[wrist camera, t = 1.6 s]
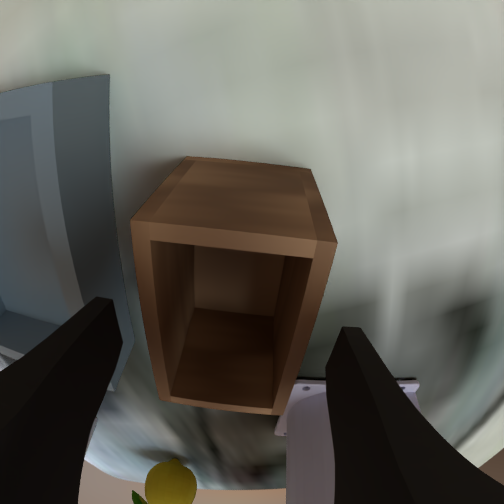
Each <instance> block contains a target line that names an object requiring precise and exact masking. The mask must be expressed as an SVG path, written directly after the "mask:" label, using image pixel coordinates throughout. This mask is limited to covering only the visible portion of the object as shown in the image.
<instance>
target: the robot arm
mask: <svg viewBox="0 0 504 504" xmlns="http://www.w3.org/2000/svg"><path fill="white" fill-rule="evenodd" d="M122 345H123V339H122V335H121V331H120V328H119V324H118V319H117V315H116V311H115V307H114V302H113V299H109V298H103V297H98V296H96V297H95V298H94V299H92V300H91V301H90V302H89V303H87V304H86V305H85V306H84V307H83V308H81V309H80V310H79V311H78V312H77V313H76V314H74V315H73V316H72V317H71V318H70V319H69V320H67V321H66V322H65V323H64V324H63V325H61V326H60V327H59V328H58V329H57V330H55V331H54V332H53V333H52V334H51V335H49V336H48V337H47V338H46V339H44V340H43V341H42V342H41V343H39V344H38V345H37V346H35V347H34V348H33V349H32V350H30V351H29V352H28V353H27V354H25V355H24V356H22V357H21V358H20V359H18V360H17V361H15V362H14V363H13V364H11V365H9V366H8V367H6V368H5V369H3V370H2V371H0V504H78V495H79V486H80V479H81V472H82V467H83V462H84V457H85V452H86V448H87V444H88V440H89V436H90V432H91V429H92V426H93V423H94V420H95V418H96V415H97V413H98V410H99V408H100V405H101V403H102V400H103V398H104V396H105V393H106V391H107V388H108V386H109V384H110V381H111V379H112V376H113V374H114V372H115V369H116V366H117V363H118V359H119V356H120V352H121V349H122ZM418 388H419V382H418V381H417V380H405V381H396V380H395V379H394V377H393V376H392V374H391V373H390V371H389V370H388V368H387V367H386V365H385V364H384V363H383V361H382V359H381V358H380V356H379V355H378V353H377V352H376V350H375V349H374V347H373V346H372V344H371V343H370V341H369V340H368V338H367V337H366V335H365V334H364V332H363V331H362V329H361V328H359V327H342V328H341V331H340V333H339V336H338V338H337V341H336V343H335V346H334V348H333V351H332V353H331V355H330V358H329V360H328V362H327V365H326V381H321V380H296V381H295V384H294V387H293V389H292V392H291V395H290V398H289V400H288V403H287V406H286V408H285V411H284V414H283V415H280V416H279V419H278V422H277V424H276V427H275V430H274V434H275V435H277V436H287V466H286V504H504V485H502V484H501V483H499V482H497V481H496V480H494V479H493V478H491V477H490V476H488V475H487V474H485V473H484V472H482V471H481V470H480V469H478V468H477V467H476V466H474V465H473V464H472V463H471V462H469V461H468V460H467V459H466V458H465V457H463V456H462V455H461V454H460V453H459V452H458V451H457V450H455V449H454V448H453V447H452V446H451V445H450V444H449V443H448V442H447V441H446V440H445V439H444V438H443V437H442V436H441V435H440V434H439V433H438V432H437V431H436V430H435V429H434V428H433V427H432V425H431V424H430V423H429V422H428V421H427V420H426V419H425V418H424V417H423V415H422V414H421V411H420V407H419V404H418V400H417V397H416V394H415V391H416V390H417V389H418Z"/></svg>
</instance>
